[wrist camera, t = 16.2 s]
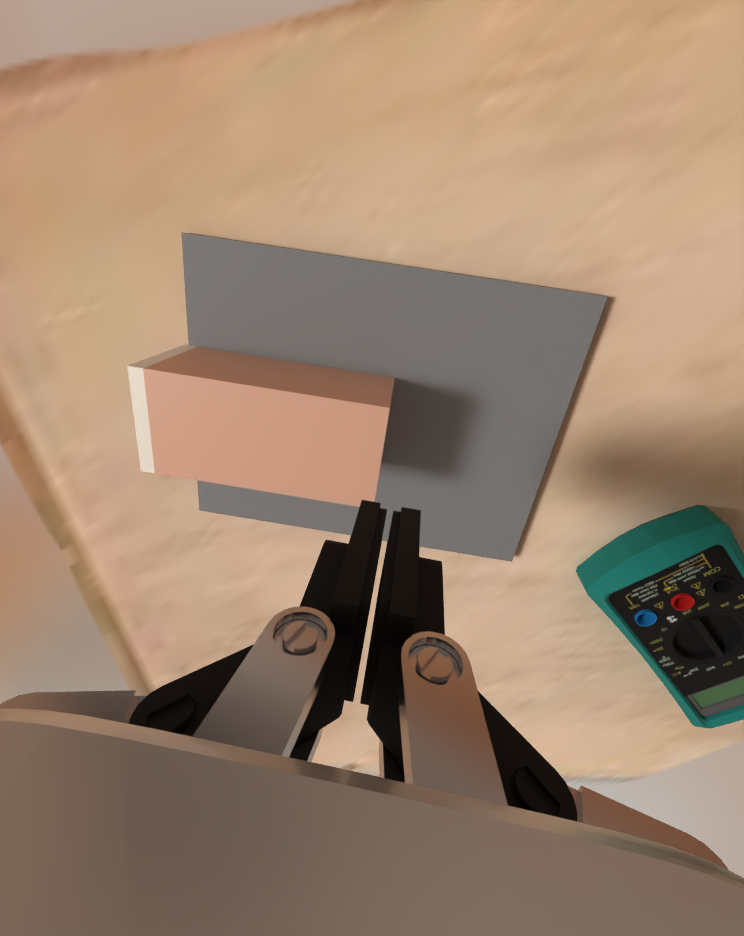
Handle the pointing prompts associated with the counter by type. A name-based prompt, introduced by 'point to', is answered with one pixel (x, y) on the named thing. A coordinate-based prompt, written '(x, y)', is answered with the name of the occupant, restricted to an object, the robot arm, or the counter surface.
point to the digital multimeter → (679, 607)
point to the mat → (406, 378)
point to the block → (261, 423)
